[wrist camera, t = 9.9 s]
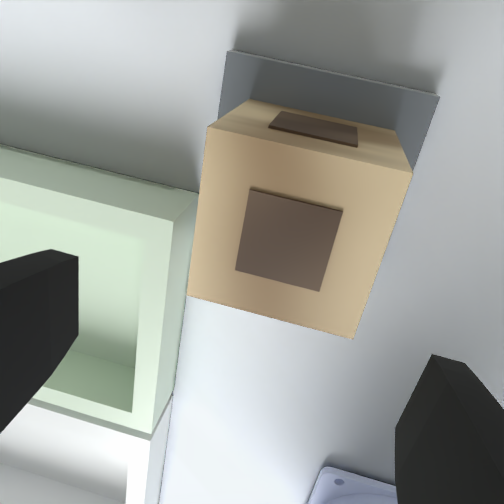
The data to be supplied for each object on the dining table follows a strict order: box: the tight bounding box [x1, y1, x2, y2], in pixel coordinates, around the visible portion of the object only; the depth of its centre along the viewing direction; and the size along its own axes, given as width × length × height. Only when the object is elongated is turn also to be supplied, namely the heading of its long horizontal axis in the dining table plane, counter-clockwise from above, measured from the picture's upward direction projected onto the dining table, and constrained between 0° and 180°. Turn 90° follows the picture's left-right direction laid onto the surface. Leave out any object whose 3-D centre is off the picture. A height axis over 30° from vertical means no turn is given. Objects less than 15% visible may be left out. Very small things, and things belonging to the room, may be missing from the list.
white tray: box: [0, 395, 173, 504], centre depth 25 cm, size 13×11×3 cm
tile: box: [218, 50, 440, 172], centre depth 16 cm, size 7×7×1 cm
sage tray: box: [0, 144, 199, 434], centre depth 20 cm, size 13×11×3 cm
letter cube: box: [187, 99, 413, 339], centre depth 14 cm, size 5×5×5 cm
